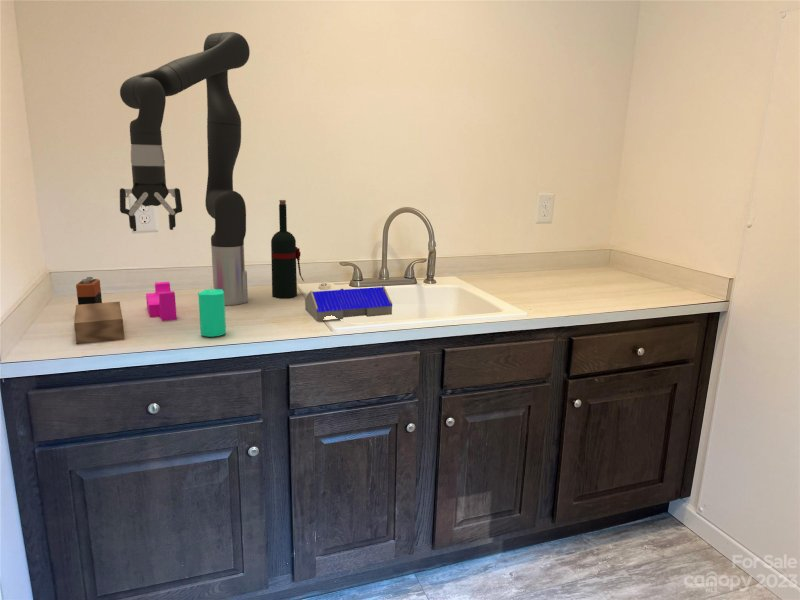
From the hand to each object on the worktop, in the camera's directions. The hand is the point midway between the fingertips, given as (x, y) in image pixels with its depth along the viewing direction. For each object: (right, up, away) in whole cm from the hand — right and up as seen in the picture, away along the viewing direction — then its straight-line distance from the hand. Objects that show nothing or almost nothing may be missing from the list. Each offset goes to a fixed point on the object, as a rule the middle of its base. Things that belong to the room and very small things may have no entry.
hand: (153, 230), depth 146 cm
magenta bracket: (-4, -22, +14) cm, 26 cm away
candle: (+16, -26, -2) cm, 30 cm away
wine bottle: (+27, -17, +37) cm, 49 cm away
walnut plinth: (-12, -25, -3) cm, 28 cm away
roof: (+47, -22, +21) cm, 56 cm away
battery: (-22, -22, +12) cm, 33 cm away
